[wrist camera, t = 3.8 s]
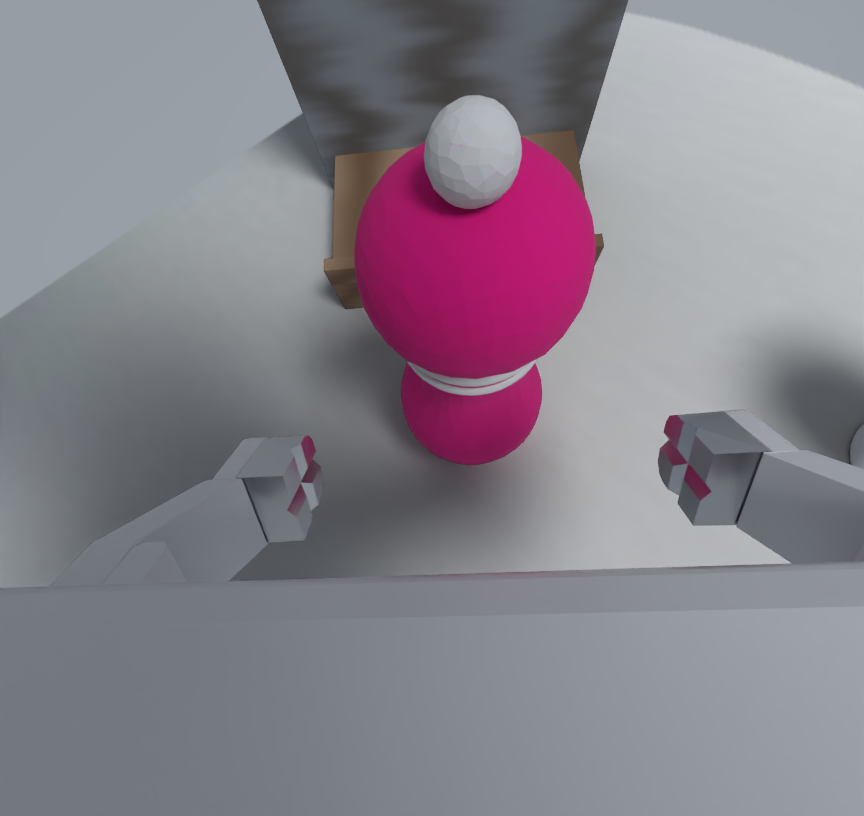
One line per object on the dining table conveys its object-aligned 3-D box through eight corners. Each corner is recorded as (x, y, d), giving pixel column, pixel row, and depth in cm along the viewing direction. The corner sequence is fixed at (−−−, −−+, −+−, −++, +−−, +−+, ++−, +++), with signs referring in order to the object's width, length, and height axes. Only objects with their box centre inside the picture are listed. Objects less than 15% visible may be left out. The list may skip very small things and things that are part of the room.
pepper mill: (505, 347, 27) (595, -88, 8) (546, 452, 25) (805, 216, 6) (399, 380, 27) (226, 29, 8) (431, 489, 25) (307, 375, 6)
